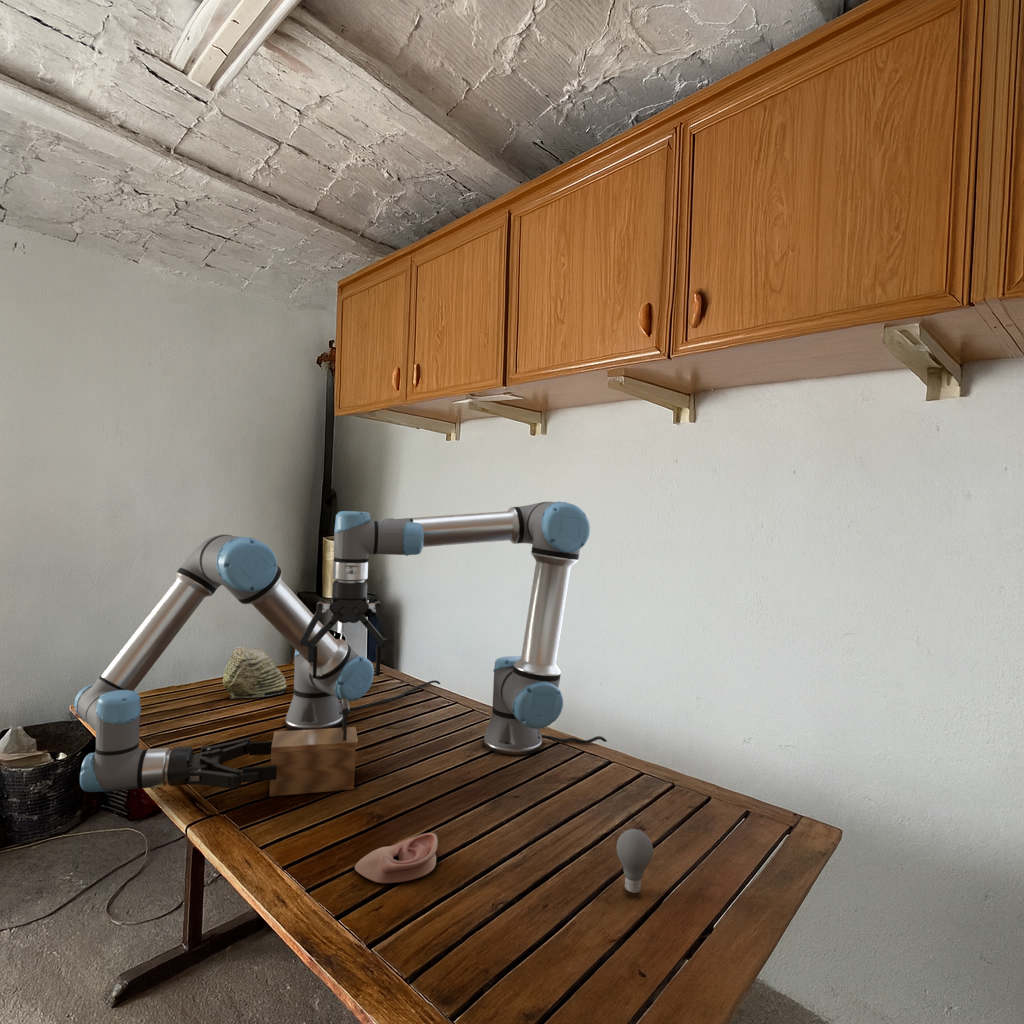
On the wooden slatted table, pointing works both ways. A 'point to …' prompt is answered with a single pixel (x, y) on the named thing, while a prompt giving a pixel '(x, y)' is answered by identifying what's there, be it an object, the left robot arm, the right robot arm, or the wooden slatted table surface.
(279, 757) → the chest
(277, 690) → the fossil
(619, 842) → the light bulb
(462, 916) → the wooden slatted table surface
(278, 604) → the left robot arm
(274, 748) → the lid
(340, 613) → the right robot arm
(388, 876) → the anatomical model
